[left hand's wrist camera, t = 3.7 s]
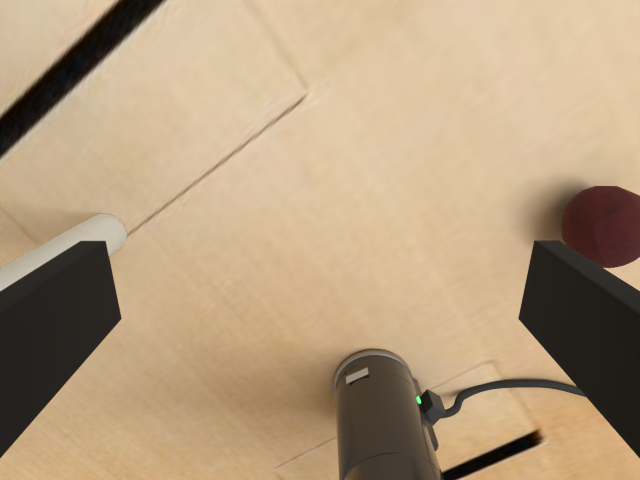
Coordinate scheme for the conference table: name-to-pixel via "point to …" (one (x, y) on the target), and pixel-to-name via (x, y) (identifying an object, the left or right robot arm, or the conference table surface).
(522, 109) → the conference table surface
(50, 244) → the bottle
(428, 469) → the right robot arm
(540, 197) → the conference table surface
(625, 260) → the potato
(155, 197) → the conference table surface
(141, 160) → the conference table surface
